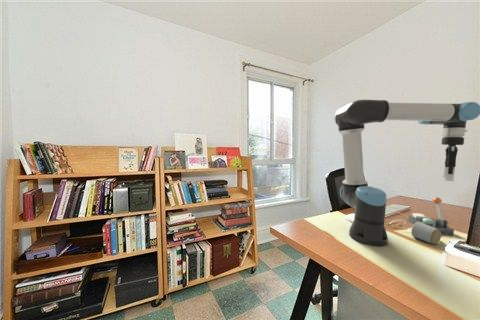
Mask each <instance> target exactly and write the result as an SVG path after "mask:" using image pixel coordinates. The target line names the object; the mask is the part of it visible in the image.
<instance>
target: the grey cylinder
mask: <svg viewBox="0 0 480 320" xmlns="http://www.w3.org/2000/svg"><path fill="white" fill-rule="evenodd" d="M411 236H412V237H413V238H415V239H418V240H421V241H424V242H426V243H428V244H430V245H431V244H432V245H437V244H438V243H439V242H440V241H441V239H442V234H441V232H440V231H439V230H438V229H436V228H434V227H431V226H429V225H426V224H424V223H421V222H416V223H415V224H413V225H412V227H411Z"/></svg>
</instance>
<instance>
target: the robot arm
mask: <svg viewBox="0 0 480 320" xmlns="http://www.w3.org/2000/svg"><path fill="white" fill-rule="evenodd" d="M479 116H480V104H479V103H477V102H476V101H468V102H467V101H465V102H462V103H442V102H441V103H437V102H436V103H435V102H434V103H430V102H429V103H426V102H425V103H424V102H389V101H388V100H386V99H357V100H354V101H352V102H349V103H347V104H344V105H342V106H341V107H339V109H338V110H336V113H335V115H334V123H335V124H336V125H337V126H338V132H339V133H340V134H341V135H342V150H343V151H342V152H343V163H344V179H343V180H342V182H341V183H342V185H341V187H340V189H339V195H340V198H341V200H342V201H343V202H344V204H347V205H348V206H350V207H351V208H353V209H354V219H353V222H352V224H351V225H350V227H349V231H348V235H349V236H350V238H352V239H353V240H355V241H357V242H359V243H362V244H365V245H367V246H374V247H375V246H376V247H384V246H387V245H388V242H389V237H388V234H387V230H386V227H385V220H386V219H385V218H386V209H387V207H386V206H387V193H386V192H385V191H384V190H382V189H381V188H377V187H374V186H369V185H368V184H369V182H368V181H367V180H366V179H365V178H364V177H365V175H364V159H363V158H364V157H363V140H362V132H363V131H364V130H365V125H366V124H372V123H384V122H386V121H410V122H413V121H415V122H416V121H417V122H418V123H419V124H421V125H426V126H427V125H440V126H442V125H443V126H442V127H443V128H442V134H441V136H442V138H441V145H444V146H446V145H447V147H446V148H445V160H444V170H443V176H442V177H443V178H444V181H446V182H447V181H448V182H454V179H455V178H454V177H455V169H456V166H457V162H456V161H457V155H458V151H459V149H458V146H464V144H465V135H466V134H465V133H467V132H468V129H466V127H467V121H472V120H475V119H477V118H478V117H479Z"/></svg>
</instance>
